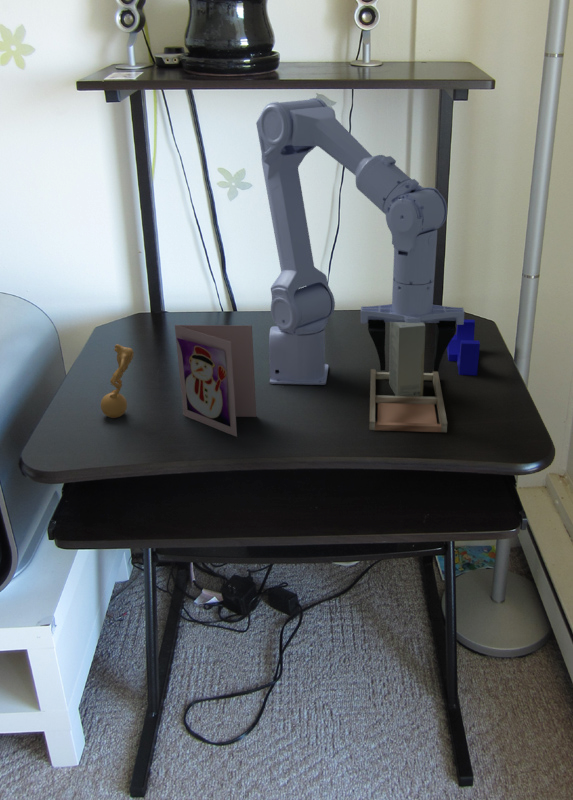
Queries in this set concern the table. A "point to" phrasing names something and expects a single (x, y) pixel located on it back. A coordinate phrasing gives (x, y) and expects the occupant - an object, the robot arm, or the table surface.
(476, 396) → the table surface
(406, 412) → the pink framed panel
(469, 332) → the cable clip
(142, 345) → the table surface
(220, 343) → the greeting card
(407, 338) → the skincare box
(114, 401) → the figurine
